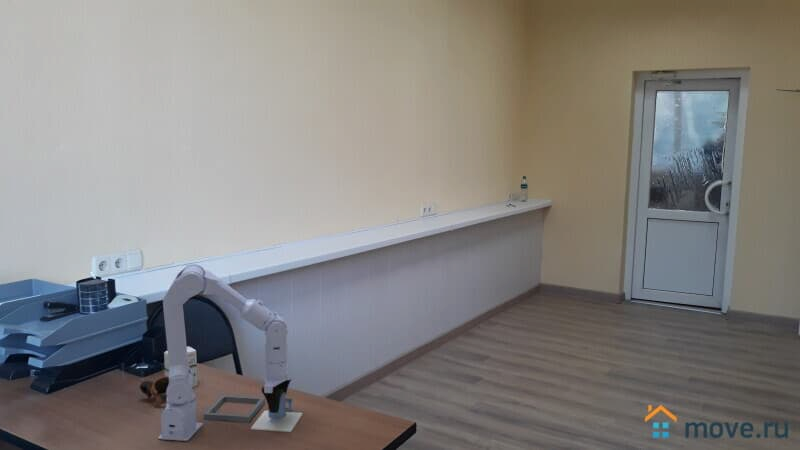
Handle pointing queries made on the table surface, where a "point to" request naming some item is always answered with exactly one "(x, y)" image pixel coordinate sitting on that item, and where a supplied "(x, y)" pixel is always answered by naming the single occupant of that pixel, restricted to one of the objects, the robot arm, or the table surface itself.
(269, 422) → the mat
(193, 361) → the ink box
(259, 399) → the grey square frame
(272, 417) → the blue-grey mug
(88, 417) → the table surface
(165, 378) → the brown animal figurine
